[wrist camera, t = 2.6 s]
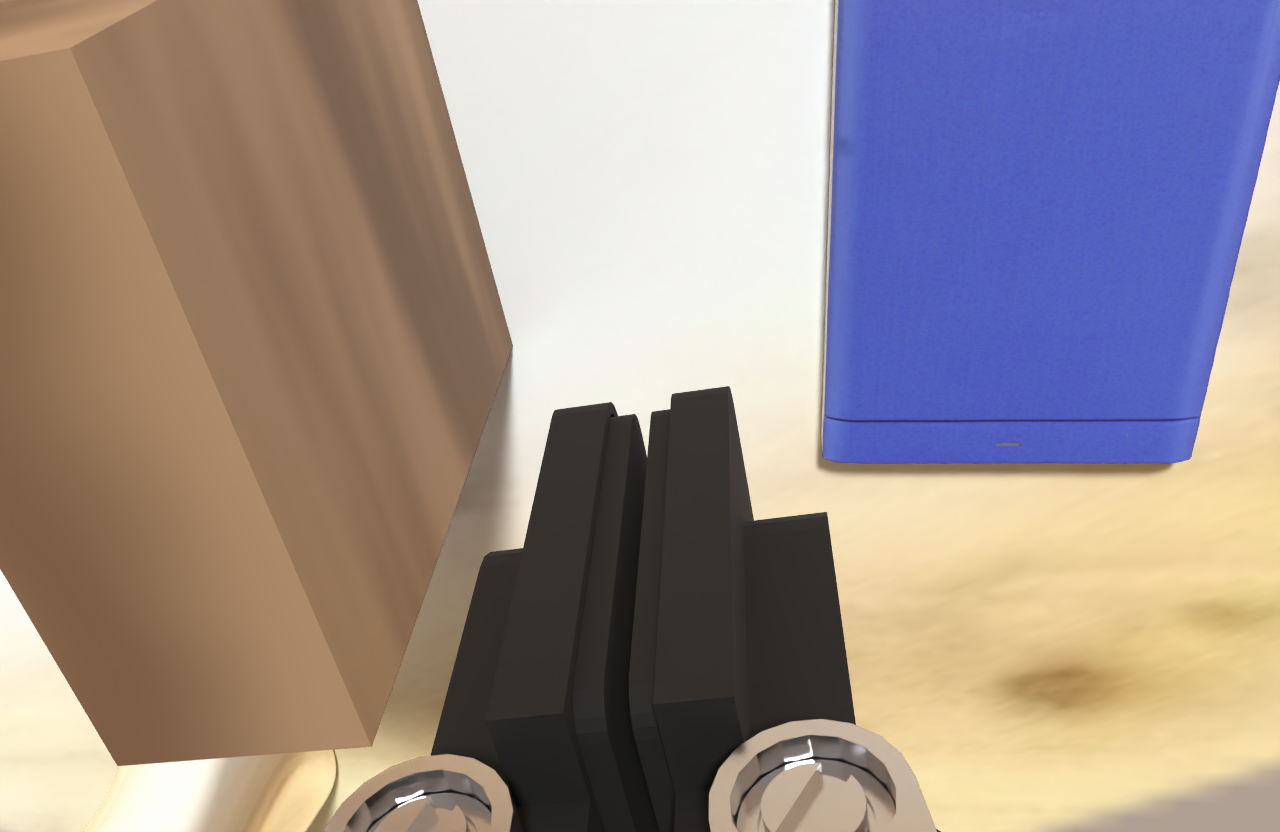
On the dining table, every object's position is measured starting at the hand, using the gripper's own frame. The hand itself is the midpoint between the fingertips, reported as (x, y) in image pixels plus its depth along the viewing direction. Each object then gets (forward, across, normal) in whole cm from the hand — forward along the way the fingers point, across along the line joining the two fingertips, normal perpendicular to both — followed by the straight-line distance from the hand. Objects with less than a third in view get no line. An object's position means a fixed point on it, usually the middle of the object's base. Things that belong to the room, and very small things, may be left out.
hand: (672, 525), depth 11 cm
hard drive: (+15, -6, +3) cm, 17 cm away
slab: (+15, +7, 0) cm, 16 cm away
